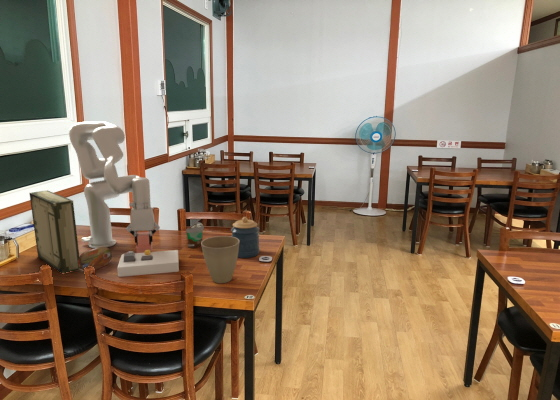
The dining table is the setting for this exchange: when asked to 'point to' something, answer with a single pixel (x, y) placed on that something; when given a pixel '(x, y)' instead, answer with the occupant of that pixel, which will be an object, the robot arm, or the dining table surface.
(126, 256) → the block
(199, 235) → the food container
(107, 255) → the tin
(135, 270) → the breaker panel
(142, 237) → the cap
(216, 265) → the plant pot
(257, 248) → the canister
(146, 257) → the tagged breaker button
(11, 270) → the dining table surface
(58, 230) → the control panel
